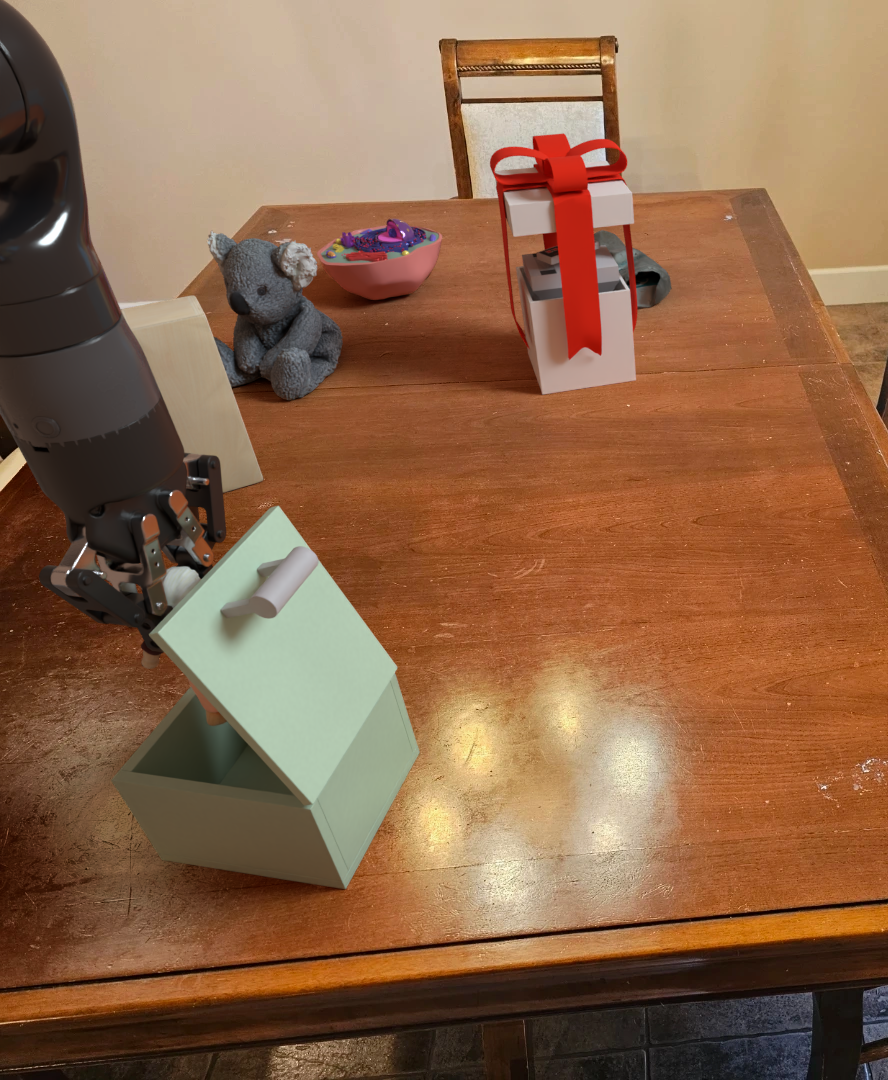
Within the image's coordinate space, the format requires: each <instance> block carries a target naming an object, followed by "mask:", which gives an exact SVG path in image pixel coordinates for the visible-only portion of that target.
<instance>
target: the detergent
mask: <svg viewBox="0 0 888 1080" xmlns="http://www.w3.org/2000/svg"><path fill="white" fill-rule="evenodd" d="M594 240H595V241H598V242H599V246H602V245H605V246H606V247H607V249H608V250H609V252H610V254H611V255H612V257H613V258H614V260H615V261H616V263H617V265H618V268H619V273H620V275H621V276H622V278H623V280H624V281H625V283H626V284H627V286H628V288H629V289H630V282H629V271H628V263H627V254H626V246H625V242H623V240H622V239H621V238H620V237H619V236H618V235H616V233H614V232H611V231H608V230H605V229H601V230H598V231H596V232H594ZM632 249H633V258H634V269H635V280H636V293H637V310H639V309H645V308H647V309H648V308H651V307H653V306H654V305H657V304H659V303H661V302H662V301H664V299H665V298H667V296H669V294H670V292H671V290H672V281H671V276H670V274H669V273H668V271H667V269H665V268H663V267H662V266H661V264H659V263H658V262H656V261H655V260H654V259H653V258H651V257H650V256H648V255H647V254H646V253H644V252H643V251H641V250H639V249H638V248H635V247H632Z"/></svg>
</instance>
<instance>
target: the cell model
mask: <svg viewBox="0 0 888 1080" xmlns="http://www.w3.org/2000/svg"><path fill="white" fill-rule="evenodd" d="M442 241H443V234H442V233H440V232H438V231H436V230H434V229H431V228H427V227H425V226H424V227H423V226H417V225H409V224H408V223H407V222H405V221H404V220H402V219H399V218H388V219H387V220H386V224H384V225H380V226H374V227H367V228H359V229H355V230H352V231H349V232H347V233H346V232H344V231H342V232H341V235H340V236H338V237H336V238H334V239H332V240H331V241H329V242H327V244H325V245H324V246H322V247H321V248H320V249H319V250H317V252H316V255H317V258H318V260H319V263H320V265H321V267H322V269H323V271H324V272H325V274H327V276H328V277H329V278H331V280H332V281H334V282H335V283H337V284H338V286H340V288H342V290H344V291H346V292H348V293H350V294H353V295H356V296H358V297H362V298H365V299H367V300H372V301H378V300H385V299H389V298H395V297H396V298H397V297H400V296H405V295H409V294H413V293H414V292H416V291H418V289H420V287H421V285H422V284H423V283H424V282H425V281H426V280H427V279H428V278H429V277H430V275H431V274H432V272H433V271H434V270H435V269H434V268H435V267H436V265H437V263H438V260H439V255H440V253H441V248H442Z"/></svg>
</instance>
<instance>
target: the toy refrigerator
mask: <svg viewBox="0 0 888 1080" xmlns="http://www.w3.org/2000/svg"><path fill="white" fill-rule="evenodd" d="M120 310H121V312H122V314H123V316H124V318H125V320H126V322H127V324H128V325H129V327H130V329H131V330H132V332H133V334H134V335H135V337H136V338H137V340H138V342H139V344H140V345H141V347H142V349H143V352H144V354H145V356H146V358H147V361H148V363H149V366H150V368H151V370H152V373H153V375H154V378H155V380H156V383H157V385H158V387H159V390H160V392H161V394H162V397H163V399H164V401H165V404H166V406H167V409H168V411H169V414H170V416H171V418H172V421H173V423H174V426H175V428H176V430H177V433H178V435H179V438H180V440H181V442H182V445H183V447H184V453H193V454H203V455H214V456H217V457H218V458H219V460H220V466H221V477H222V488H223V494H224V493H226V492H231V491H235V490H239V489H241V488H244V487H248V486H251V485H255V484H258V483H261V482H263V481H264V476H263V472H262V471H261V468H260V465H259V462H258V459H257V456H256V453H255V451H254V448H253V445H252V442H251V439H250V436H249V433H248V431H247V428H246V425H245V422H244V419H243V417H242V413H241V411H240V408H239V405H238V402H237V399H236V397H235V393H234V391H233V389H232V388H233V387H232V388H231V385H230V382H229V380H228V377H227V374H226V371H225V368H224V365H223V362H222V360H221V357H220V354H219V351H218V348H217V345H216V343H215V340H214V337H215V336H214V335H213V332H212V329H211V326H210V323H209V320H208V318H207V315H206V313H205V312H204V310H203V307H202V305H201V304H200V302H199V300H198V299H197V296H196V295H193V294H192V295H187V296H186V295H185V296H180V297H176V298H170V299H165V300H160V301H155V302H151V303H146V304H141V305H135V306H130V307H125V308H120ZM213 336H214V337H213Z"/></svg>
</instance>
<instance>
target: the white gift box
mask: <svg viewBox="0 0 888 1080" xmlns="http://www.w3.org/2000/svg"><path fill="white" fill-rule="evenodd" d="M600 149H613V150H614V149H615V150H618V155H619V156H618V159H617V160H616V161H615V162H614V163H611V164H610V163H609V162H608V161H607V160H598V161H588V162H585V161H584V159H583V157H582V156H584V155H585V154H587V153H590V152H593V151H596V150H600ZM511 157H528V158H534V160H535V162H536V163H533V165H532V166H533V167H524V168H513V169H502V170H496V168H497V165H498V164H499V163H500V162H501V161H503V160H505V159H506V158H511ZM489 167H490V170H491V172H492V175H493V177H494V179H495V191H496V194H497V199H498V206H499V207H498V208H499V216H500V224H501V235H502V236H501V237H502V245H503V254H504V263H505V270H506V271H505V273H506V280H507V287H508V294H509V295H508V296H509V305H510V310H511V314H512V318H513V320H514V323H515V326H516V329H517V331H518V333H519V336H520V338H521V339H522V341H523V343H524V345H525V346H526V348H527V349H526V350H527V355H528V358H529V360H530V363H531V366H532V369H533V371H534V375H535V377H536V379H537V383H538V387H539V389H540V391H541V395H548V394H555V393H562V392H568V391H575V390H580V389H581V390H582V389H588V388H589V389H590V388H594V387H601V386H608V385H614V384H621V383H627V382H634V381H637V373H636V358H635V357H636V356H635V355H636V354H635V344H634V332H635V329H636V326H637V320H638V309H637V293H636V280H635V269H634V258H633V249H632V248H633V241H632V233H631V232H632V231H631V225H633V224H635V214H634V199H633V197H634V196H633V192H632V190H631V189H630V188H629V187H628V184H627V183H626V181H625V179H624V178H623V176H622V175H621V174H622V173H623V172H625V170H626V169H627V168H628V158H627V155H626V153H625V152H624V151H623V150H622V149H621V147H619V145H618V144H617V143H616V142H614V141H613V140H611V139H608V138H595V139H590V140H587V141H584V142H580V143H579V144H577V145H575V146H573V147H571V145H570V142H569V140H568V137H567V135H566V134H565V133H554V134H553V133H552V134H540V135H533V136H532V148H530V147H524V146H505V147H502V148H499V149H497V150H496V151H494V152H493V153H492V155H491V157H490V160H489ZM507 224H508V226H509V229H510V231H511V234H512V236H513V238H514V237H523V236H524V237H525V236H533V235H541V234H542V239H543V246H544V247H543V248H544V249H543V250H540V251H537V252H535V253H534V252H533V253H525V254H521V258H522V265H520V266H515V272H516V279H517V285H518V292H519V293H518V294H519V300H520V306H521V307H520V308H521V312H522V313H521V314H522V321H523V326H524V331H523V329H522V326H521V325H520V323H519V322H518V320H517V317H516V312H515V304H514V295H513V286H512V276H511V264H510V253H509V252H510V251H509V239H508V238H509V237H508V226H507ZM615 226H622V231H623V236H624V245H625V246H626V254H627V263H628V271H629V282H630V289H629V288H628V286H627V284H626V283H625V281H624V280H623V278H622V276H621V275H620V273H619V268H618V265H617V263H616V261H615V260H614V258H613V257H612V255H611V254H610V252H609V250H608V249H607V247H606V246H605V245H602V246H599V242H598V241H595V240H594V234H595V231H594V229H596V228H605V227H606V228H607V227H615Z"/></svg>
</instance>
